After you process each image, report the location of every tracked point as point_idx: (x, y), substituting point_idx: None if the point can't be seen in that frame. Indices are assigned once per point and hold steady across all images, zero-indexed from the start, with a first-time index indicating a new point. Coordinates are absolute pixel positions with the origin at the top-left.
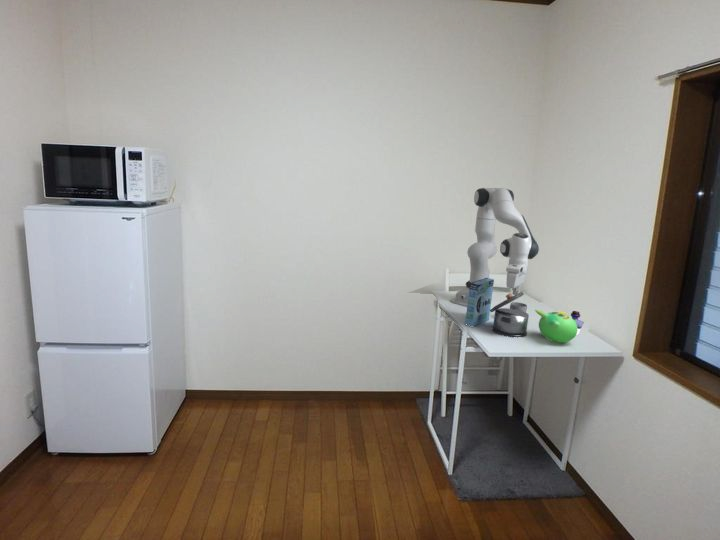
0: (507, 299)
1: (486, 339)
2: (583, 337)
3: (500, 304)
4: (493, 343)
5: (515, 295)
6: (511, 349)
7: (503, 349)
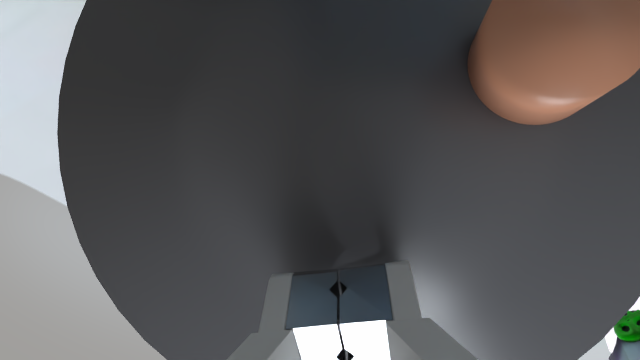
0: (406, 56)
1: (24, 11)
2: (595, 348)
3: (70, 82)
4: (18, 86)
5: (237, 331)
6: (57, 196)
7: (8, 170)
